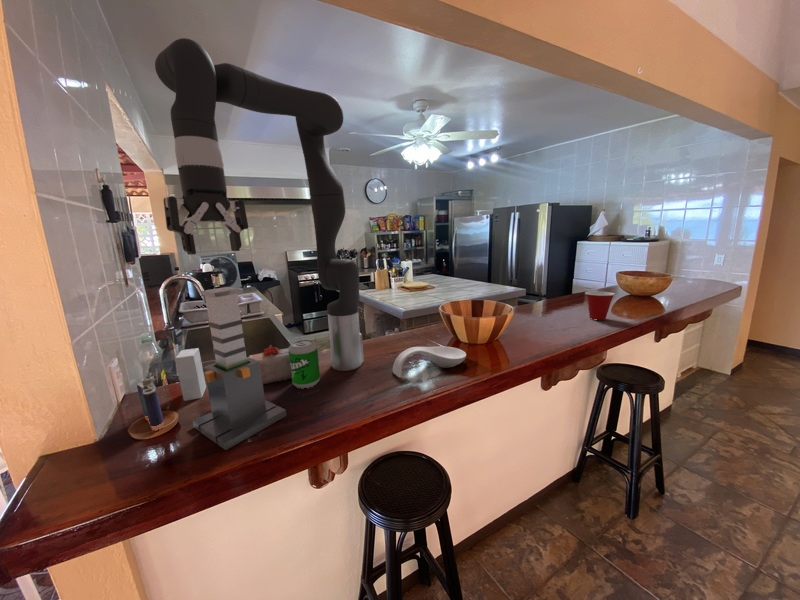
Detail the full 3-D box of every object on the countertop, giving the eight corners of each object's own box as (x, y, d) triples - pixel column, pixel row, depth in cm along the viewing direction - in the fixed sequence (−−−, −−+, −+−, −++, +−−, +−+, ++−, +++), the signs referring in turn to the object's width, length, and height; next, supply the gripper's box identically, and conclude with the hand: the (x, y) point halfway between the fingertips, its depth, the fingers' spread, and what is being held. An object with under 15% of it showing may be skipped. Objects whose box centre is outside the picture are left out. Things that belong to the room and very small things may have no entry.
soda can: (310, 375, 95) (306, 336, 92) (325, 382, 90) (322, 341, 87) (287, 385, 89) (282, 344, 86) (302, 393, 84) (298, 350, 82)
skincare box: (188, 391, 87) (180, 349, 85) (206, 387, 89) (199, 347, 86) (182, 401, 82) (174, 358, 79) (201, 398, 83) (194, 355, 81)
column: (242, 388, 74) (227, 286, 69) (254, 394, 72) (238, 288, 66) (220, 398, 70) (201, 290, 65) (231, 404, 68) (212, 292, 62)
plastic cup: (604, 315, 144) (607, 289, 142) (616, 322, 134) (620, 294, 131) (578, 315, 146) (581, 289, 143) (589, 322, 136) (592, 294, 133)
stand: (253, 399, 82) (245, 347, 79) (286, 415, 74) (279, 359, 71) (193, 427, 71) (182, 368, 68) (225, 450, 63) (214, 385, 60)
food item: (249, 390, 87) (244, 356, 85) (249, 378, 94) (244, 347, 92) (301, 379, 92) (297, 347, 90) (297, 369, 99) (294, 339, 97)
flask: (143, 417, 75) (133, 375, 73) (158, 412, 77) (149, 371, 75) (152, 433, 69) (142, 388, 67) (168, 427, 71) (159, 383, 69)
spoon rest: (451, 353, 108) (451, 333, 106) (473, 366, 97) (474, 344, 96) (387, 369, 97) (386, 347, 96) (405, 385, 87) (404, 360, 86)
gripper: (228, 173, 68) (239, 249, 72) (148, 164, 57) (166, 255, 61) (247, 169, 64) (258, 250, 68) (165, 157, 53) (183, 256, 56)
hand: (214, 252), depth 64 cm, fingers open, 8 cm apart
